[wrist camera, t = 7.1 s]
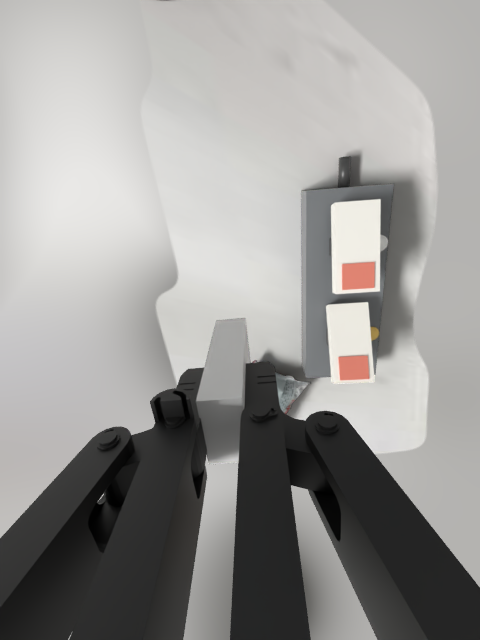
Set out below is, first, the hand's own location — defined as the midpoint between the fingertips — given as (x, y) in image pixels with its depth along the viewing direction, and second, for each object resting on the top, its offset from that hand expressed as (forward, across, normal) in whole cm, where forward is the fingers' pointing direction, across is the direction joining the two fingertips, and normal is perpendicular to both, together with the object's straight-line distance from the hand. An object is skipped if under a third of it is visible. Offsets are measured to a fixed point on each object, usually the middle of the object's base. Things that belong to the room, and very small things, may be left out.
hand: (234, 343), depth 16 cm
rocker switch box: (+25, +11, -4) cm, 28 cm away
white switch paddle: (+19, +11, -11) cm, 25 cm away
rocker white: (+19, +12, 0) cm, 22 cm away
